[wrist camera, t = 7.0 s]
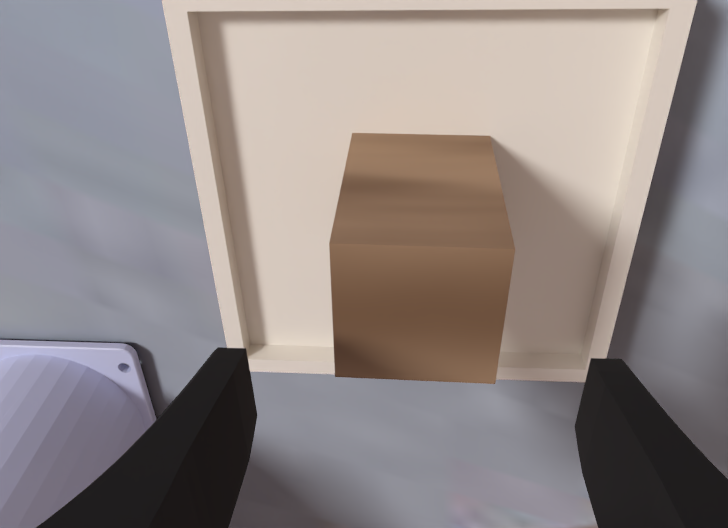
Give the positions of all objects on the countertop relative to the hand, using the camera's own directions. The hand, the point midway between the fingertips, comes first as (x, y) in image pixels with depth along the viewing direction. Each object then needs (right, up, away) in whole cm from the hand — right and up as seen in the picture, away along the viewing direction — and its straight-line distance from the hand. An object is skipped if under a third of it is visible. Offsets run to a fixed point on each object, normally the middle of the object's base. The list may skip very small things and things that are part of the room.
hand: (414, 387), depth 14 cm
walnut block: (+1, +5, +6) cm, 8 cm away
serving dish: (+1, +5, +7) cm, 9 cm away
